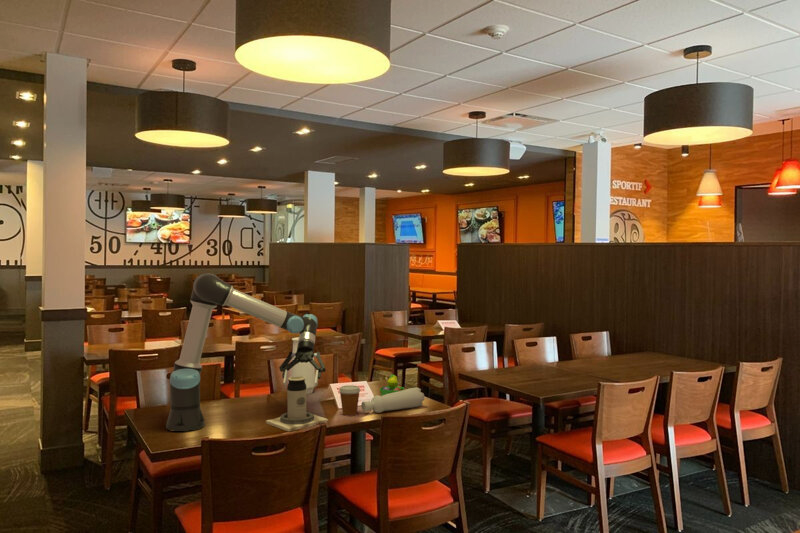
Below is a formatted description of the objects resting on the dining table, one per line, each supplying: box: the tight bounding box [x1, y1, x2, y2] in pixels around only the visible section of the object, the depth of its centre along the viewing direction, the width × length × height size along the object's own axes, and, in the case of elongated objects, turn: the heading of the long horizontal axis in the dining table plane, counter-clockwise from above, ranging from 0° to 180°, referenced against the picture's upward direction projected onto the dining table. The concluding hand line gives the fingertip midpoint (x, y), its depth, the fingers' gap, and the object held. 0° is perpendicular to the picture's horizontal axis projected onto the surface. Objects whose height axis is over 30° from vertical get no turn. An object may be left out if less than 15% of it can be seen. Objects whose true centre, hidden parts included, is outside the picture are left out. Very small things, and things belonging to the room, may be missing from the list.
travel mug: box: [286, 376, 307, 419], centre depth 262 cm, size 8×8×18 cm
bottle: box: [361, 387, 425, 414], centre depth 282 cm, size 9×9×30 cm
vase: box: [290, 336, 316, 395], centre depth 318 cm, size 13×13×28 cm
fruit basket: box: [379, 374, 405, 396], centre depth 305 cm, size 11×9×11 cm
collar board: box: [265, 411, 329, 433], centre depth 262 cm, size 20×17×3 cm
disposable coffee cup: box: [338, 384, 361, 416], centre depth 276 cm, size 10×10×12 cm
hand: (300, 384), depth 265 cm, fingers open, 13 cm apart
